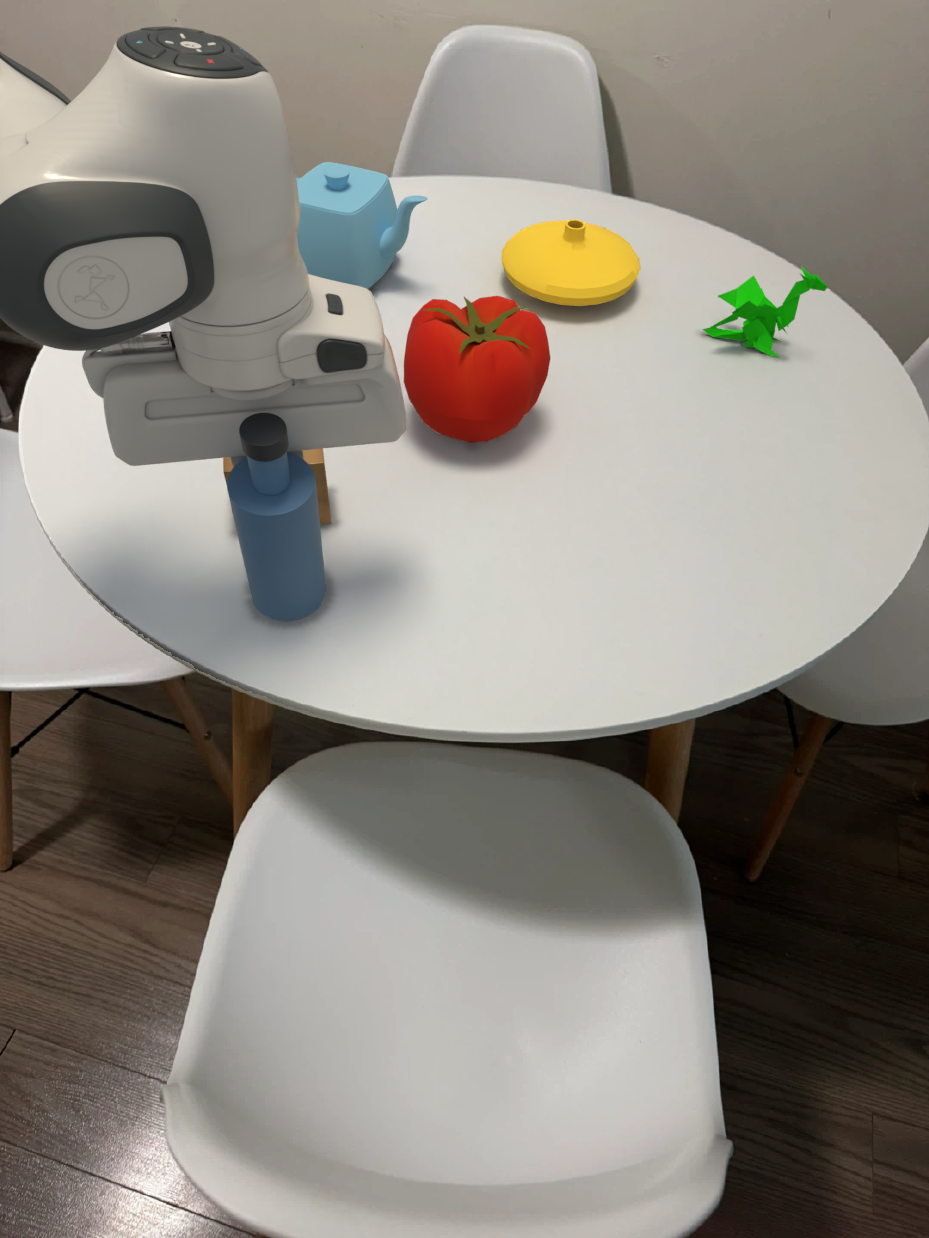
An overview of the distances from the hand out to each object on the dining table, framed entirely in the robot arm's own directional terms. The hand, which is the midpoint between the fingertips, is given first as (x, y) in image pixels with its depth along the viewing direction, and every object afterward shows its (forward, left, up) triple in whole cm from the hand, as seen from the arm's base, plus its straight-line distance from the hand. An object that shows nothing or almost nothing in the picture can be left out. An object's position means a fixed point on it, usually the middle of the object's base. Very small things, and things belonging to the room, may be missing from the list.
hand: (274, 487), depth 66 cm
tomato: (+19, +17, -9) cm, 27 cm away
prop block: (0, +6, -9) cm, 11 cm away
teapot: (+10, +44, -9) cm, 46 cm away
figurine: (+51, +25, -9) cm, 57 cm away
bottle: (0, +1, -7) cm, 7 cm away
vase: (+34, +39, -9) cm, 52 cm away
